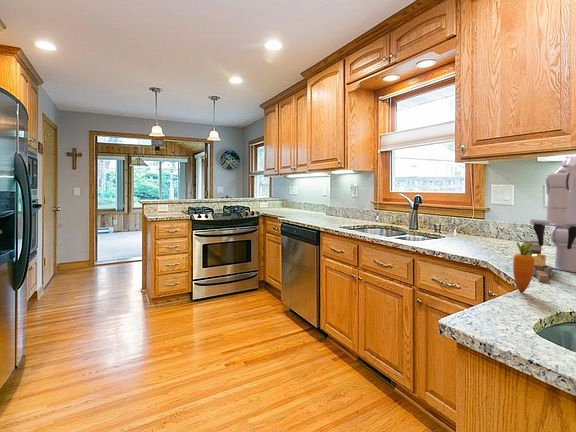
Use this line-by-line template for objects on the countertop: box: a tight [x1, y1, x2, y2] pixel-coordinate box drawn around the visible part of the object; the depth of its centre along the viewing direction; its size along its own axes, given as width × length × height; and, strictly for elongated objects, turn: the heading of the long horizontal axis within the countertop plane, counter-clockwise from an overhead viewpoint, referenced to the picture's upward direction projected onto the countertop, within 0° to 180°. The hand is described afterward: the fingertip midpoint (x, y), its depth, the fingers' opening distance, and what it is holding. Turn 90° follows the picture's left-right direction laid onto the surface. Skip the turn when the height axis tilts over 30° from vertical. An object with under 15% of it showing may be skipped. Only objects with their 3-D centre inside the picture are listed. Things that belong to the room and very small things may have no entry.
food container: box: [521, 240, 542, 256], centre depth 125 cm, size 12×6×10 cm, turn 141°
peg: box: [532, 253, 547, 268], centre depth 116 cm, size 4×4×7 cm
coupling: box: [532, 264, 554, 284], centre depth 116 cm, size 15×16×3 cm
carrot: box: [512, 242, 534, 294], centre depth 95 cm, size 5×5×15 cm
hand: (554, 247), depth 113 cm, fingers open, 7 cm apart
